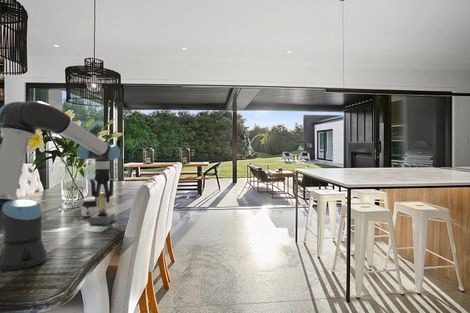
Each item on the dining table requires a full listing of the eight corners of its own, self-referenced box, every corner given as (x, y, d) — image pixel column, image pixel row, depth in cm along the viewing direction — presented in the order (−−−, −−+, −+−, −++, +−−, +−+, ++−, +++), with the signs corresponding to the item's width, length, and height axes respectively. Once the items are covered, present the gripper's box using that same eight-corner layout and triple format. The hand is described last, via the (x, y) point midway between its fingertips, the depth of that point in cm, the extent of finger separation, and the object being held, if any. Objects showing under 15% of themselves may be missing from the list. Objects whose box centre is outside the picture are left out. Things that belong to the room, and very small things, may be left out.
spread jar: (79, 217, 175) (79, 198, 175) (92, 213, 186) (92, 195, 186) (95, 218, 173) (95, 200, 172) (108, 214, 184) (108, 196, 183)
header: (107, 224, 161) (107, 217, 160) (89, 224, 161) (89, 217, 160) (114, 219, 171) (114, 213, 170) (98, 219, 171) (98, 213, 170)
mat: (101, 232, 146) (101, 231, 146) (84, 231, 146) (84, 231, 146) (109, 227, 155) (109, 226, 155) (92, 226, 155) (92, 226, 155)
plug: (104, 217, 163) (104, 193, 163) (97, 217, 163) (97, 193, 163) (107, 215, 167) (107, 192, 167) (100, 215, 167) (100, 192, 167)
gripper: (119, 168, 168) (119, 206, 169) (91, 167, 168) (91, 206, 169) (114, 169, 161) (114, 209, 161) (84, 168, 161) (84, 209, 161)
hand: (102, 208), depth 165 cm, fingers closed on plug, 4 cm apart
